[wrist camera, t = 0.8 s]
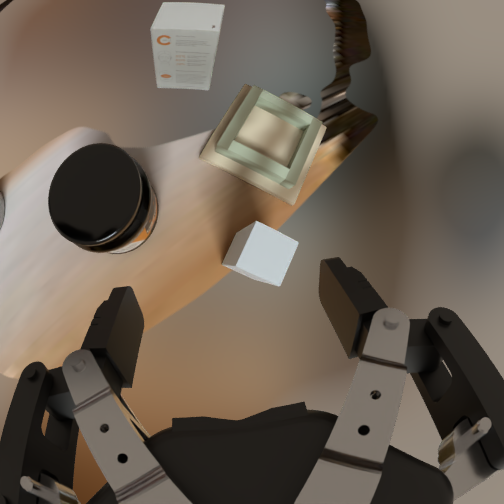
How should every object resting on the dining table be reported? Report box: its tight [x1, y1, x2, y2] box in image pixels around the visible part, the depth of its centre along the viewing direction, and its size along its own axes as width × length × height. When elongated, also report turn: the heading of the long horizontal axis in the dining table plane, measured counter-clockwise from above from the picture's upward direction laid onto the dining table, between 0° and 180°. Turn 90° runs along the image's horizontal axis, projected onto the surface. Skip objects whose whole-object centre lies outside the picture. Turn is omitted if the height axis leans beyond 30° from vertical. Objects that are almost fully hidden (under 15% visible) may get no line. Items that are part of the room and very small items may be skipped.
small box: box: [150, 2, 225, 90], centre depth 29 cm, size 8×6×13 cm
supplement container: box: [48, 143, 158, 254], centre depth 27 cm, size 10×10×12 cm
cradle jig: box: [199, 84, 327, 206], centre depth 35 cm, size 14×14×4 cm
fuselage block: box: [222, 221, 299, 286], centre depth 31 cm, size 4×4×11 cm
